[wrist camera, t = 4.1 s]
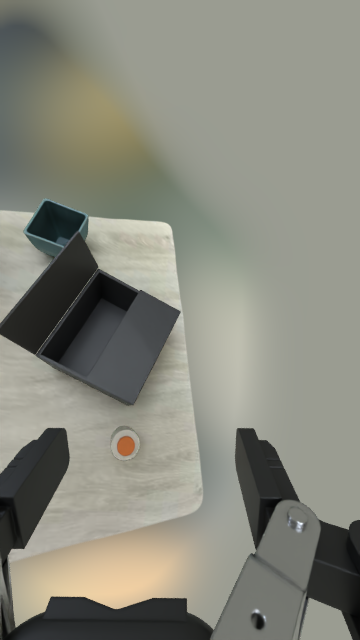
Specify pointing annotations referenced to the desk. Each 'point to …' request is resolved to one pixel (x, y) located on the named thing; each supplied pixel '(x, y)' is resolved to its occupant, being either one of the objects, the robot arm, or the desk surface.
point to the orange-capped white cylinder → (124, 443)
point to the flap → (50, 296)
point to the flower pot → (55, 226)
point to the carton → (110, 337)
